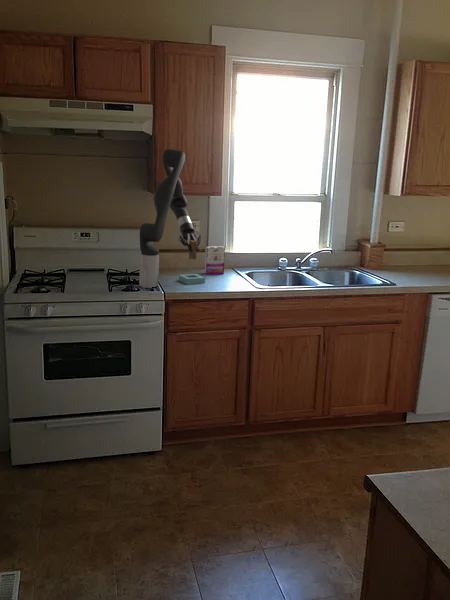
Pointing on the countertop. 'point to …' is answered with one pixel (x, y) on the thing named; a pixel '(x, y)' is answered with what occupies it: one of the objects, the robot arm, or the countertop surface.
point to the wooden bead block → (191, 279)
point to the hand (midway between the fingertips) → (194, 251)
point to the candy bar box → (214, 259)
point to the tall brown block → (194, 245)
